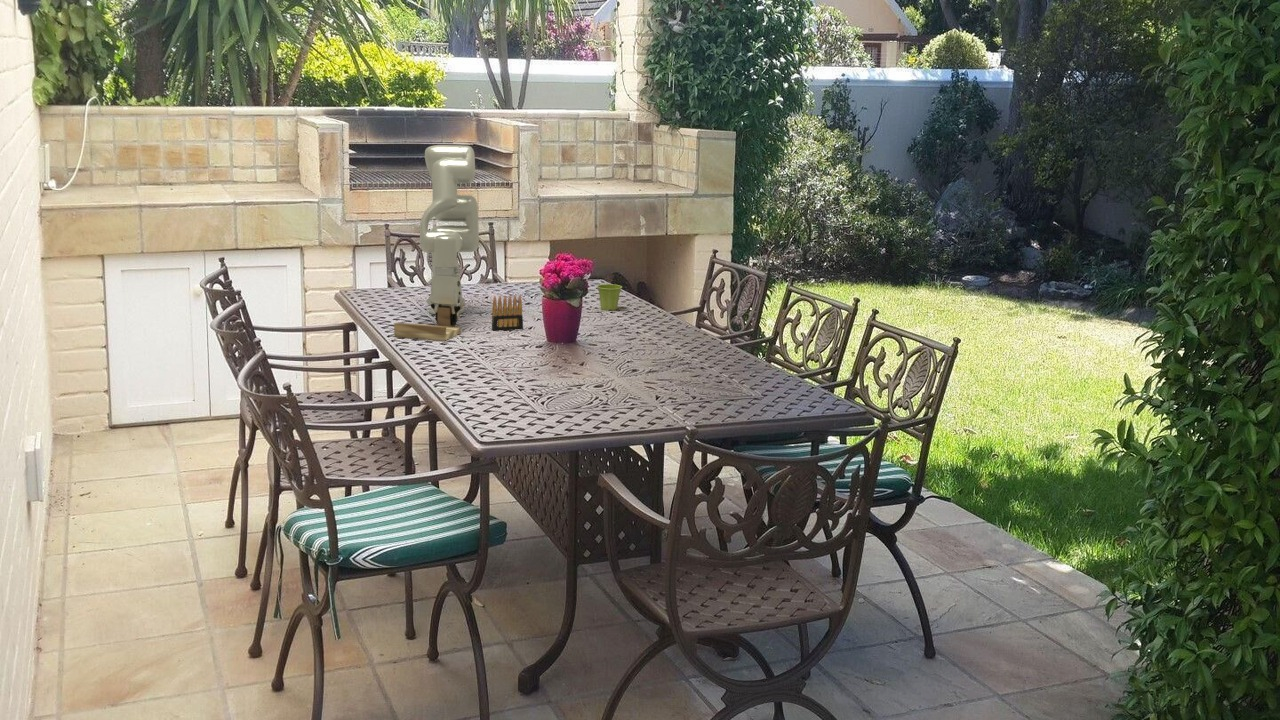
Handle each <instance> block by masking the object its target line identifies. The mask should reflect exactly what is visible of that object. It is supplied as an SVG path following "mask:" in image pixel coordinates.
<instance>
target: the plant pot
mask: <svg viewBox="0 0 1280 720" xmlns="http://www.w3.org/2000/svg"><path fill="white" fill-rule="evenodd" d="M596 288H597V291H598V293H599V295H598V296H599V305H600V309H601V310H603V311H615V310H618V307H619V300H620V293H621V291H622V289H623V286H622V285H618V284H613V283H611V284H608V283H607V284H605V283H604V284H603V283H602V284H598V285H597V286H596Z"/></svg>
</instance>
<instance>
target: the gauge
mask: <svg viewBox="0 0 1280 720" xmlns="http://www.w3.org/2000/svg"><path fill="white" fill-rule="evenodd" d="M451 314H452V311H451V307H450V306H448V305H442V306H440V307H437V321H436V323H437V322H438V324H437V326H446V327H456V324H454V325H451V317H450V315H451ZM459 318H460V314H457V320H458V319H459Z"/></svg>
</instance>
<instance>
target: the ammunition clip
mask: <svg viewBox="0 0 1280 720" xmlns="http://www.w3.org/2000/svg"><path fill="white" fill-rule="evenodd" d="M512 300H513V301H512ZM517 300H518V301H517ZM497 301H498V302H497ZM522 301H523V300H522V296H521V295H520V294H519V295H518V299H517V296H516V294H514V295H513V299H512V295H509V296H508V300H507V297H506V295H504V296H503V300H502V296H501V295H499V296H498V299H497V297H496V295H494V296H493V299H492V309H491V311H492V312H491V313H492V314H491V315H492V316H491V331H492V330H493V332H497V331H498V332H499V330H503V331H516V330H515V329H522V330H524V320H523V319H524V318H523V317H524V316H523V304H522V303H523V302H522Z"/></svg>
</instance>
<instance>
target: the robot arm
mask: <svg viewBox="0 0 1280 720" xmlns="http://www.w3.org/2000/svg"><path fill="white" fill-rule="evenodd" d="M424 160H425V165H426V168H427V170H428V173H429V174H428V175H429V177H430V178H431V183H432V188H431V189H432V202H431V204H430V205H429V206H428V207H427V208H426V210H425V211H424V212H423V214H422V216H421V219H420V222H419V223H420V224H419V246H420V249H421V250H422V252H423V253H426V254H428V253H429V254H431V259H432V260H431V261H432V265H431V267H432V269H431V270H432V277H431V284H430V295H429V296H428V298H427V300H426V301H425V302H426V304H427V305H429V306H430V308H428V313H430V314H432V315H435V321H436V325H438V322H437V307H440V306H442V305H448V306H450V307H451V311H452V314H451V315H450V317H451V325H454V324H455V325H456V324H457V322H458V319H457V314H459V315H461V314H463V313H464V312H465V309H464V307H466V306H467V303H466V302H465V300H464V298H463V289H462V281H461V277H460V274H461V269H460V264H459V261H458V260H457V259H458V254H457V253H472V252H473V253H474V252H476V251H477V250H478V248H479V243H480V241H479V239H480V235H479V234H480V233H479V231H480V229H479V206H478V202H477V199H476V197H474V196H472V195H468V194H467V195H463V194H462V195H459V194H458V184H472V183H473V182H474V179H475V175H476V161H475V160H476V156H475V150H474V148H472V146H471V145H459V144H458V145H455V144H454V145H451V144H437V145H430V146H428V147H426V148H425V151H424ZM433 218H434V219H435V220H436V221H438V222H444V223H445V222H447V223H449V222H451V223H453V222H455V223H460V222H461V223H465V225H454V224H453V225H450V224H449V225H448V224H447V225H443V224H442V225H436V226H434V227H432V228H431V230H429V229H428V228H429V223H430V221H431V220H432V219H433Z"/></svg>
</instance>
